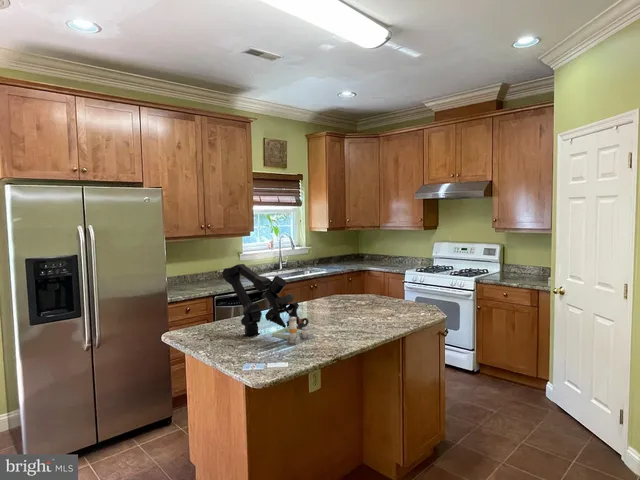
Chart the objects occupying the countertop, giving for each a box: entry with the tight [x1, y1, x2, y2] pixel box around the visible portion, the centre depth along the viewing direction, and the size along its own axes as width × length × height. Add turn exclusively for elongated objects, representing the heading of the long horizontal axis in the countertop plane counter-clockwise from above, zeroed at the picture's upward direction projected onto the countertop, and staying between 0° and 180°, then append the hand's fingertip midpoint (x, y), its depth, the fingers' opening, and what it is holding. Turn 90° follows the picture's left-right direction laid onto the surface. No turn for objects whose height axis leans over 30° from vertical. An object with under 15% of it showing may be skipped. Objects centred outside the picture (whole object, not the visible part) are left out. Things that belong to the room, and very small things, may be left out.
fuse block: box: [283, 332, 316, 347], centre depth 199 cm, size 6×17×4 cm, turn 142°
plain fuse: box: [302, 326, 310, 339], centre depth 202 cm, size 4×4×5 cm
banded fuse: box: [288, 316, 298, 344], centre depth 195 cm, size 4×4×12 cm
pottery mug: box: [285, 316, 310, 330], centre depth 221 cm, size 12×10×8 cm
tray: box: [271, 327, 302, 340], centre depth 208 cm, size 11×11×3 cm
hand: (292, 325), depth 195 cm, fingers open, 9 cm apart
